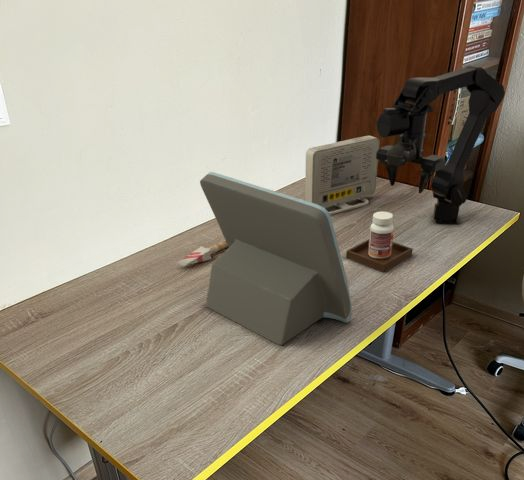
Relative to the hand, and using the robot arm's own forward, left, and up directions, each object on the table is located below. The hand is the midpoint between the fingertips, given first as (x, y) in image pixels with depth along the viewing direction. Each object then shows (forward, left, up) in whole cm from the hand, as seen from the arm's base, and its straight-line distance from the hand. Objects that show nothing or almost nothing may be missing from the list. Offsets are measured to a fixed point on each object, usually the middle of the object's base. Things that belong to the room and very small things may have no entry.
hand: (406, 189), depth 156 cm
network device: (+18, -20, -13) cm, 30 cm away
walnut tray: (+7, +17, -13) cm, 22 cm away
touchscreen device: (+33, +46, -13) cm, 58 cm away
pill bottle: (+7, +17, -13) cm, 22 cm away
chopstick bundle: (+54, +20, -13) cm, 59 cm away
